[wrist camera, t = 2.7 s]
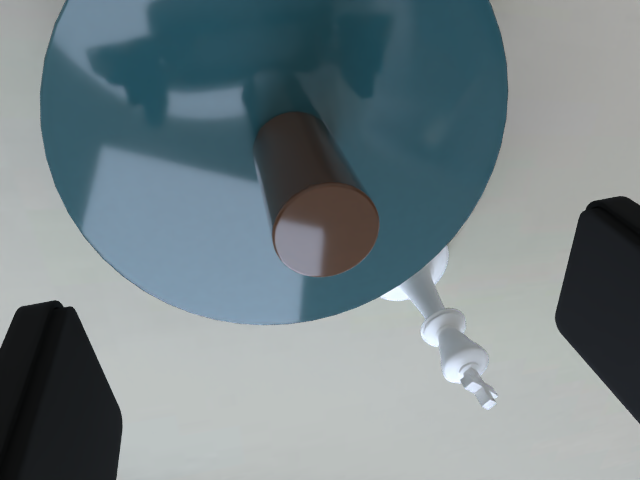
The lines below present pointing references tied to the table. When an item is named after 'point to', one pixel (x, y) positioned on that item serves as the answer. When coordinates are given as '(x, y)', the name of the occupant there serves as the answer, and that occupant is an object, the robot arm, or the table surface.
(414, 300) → the chess piece
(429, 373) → the table surface
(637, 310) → the robot arm
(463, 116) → the bowl lid
